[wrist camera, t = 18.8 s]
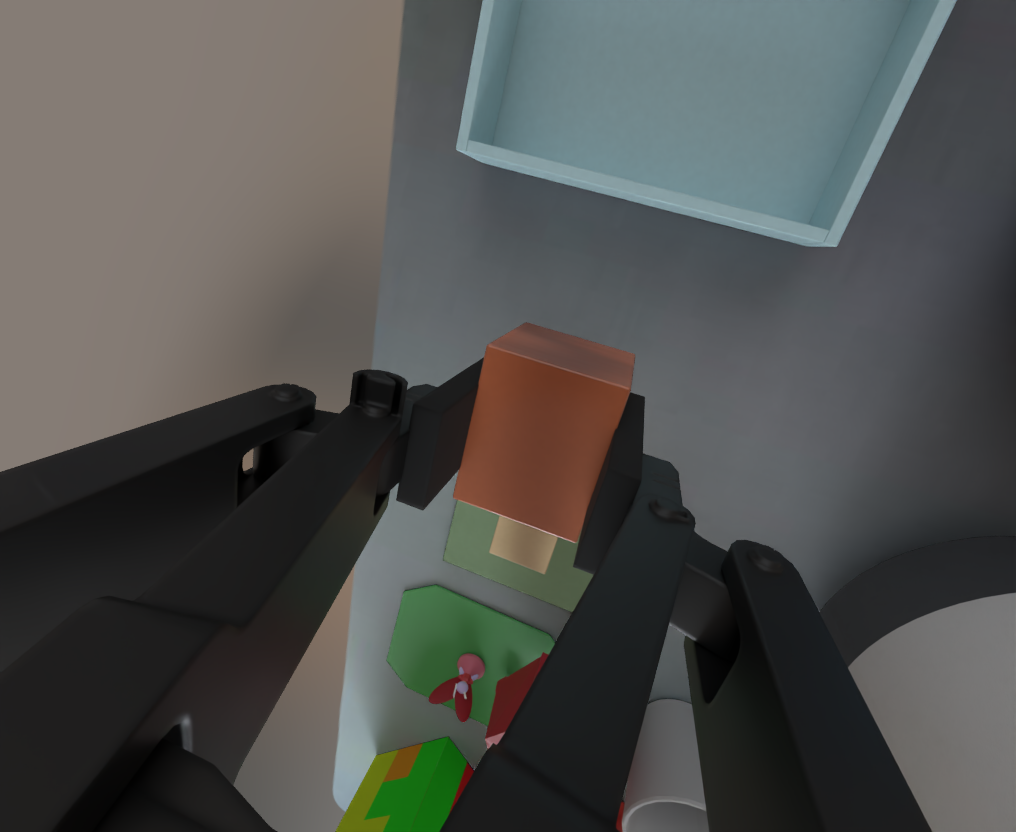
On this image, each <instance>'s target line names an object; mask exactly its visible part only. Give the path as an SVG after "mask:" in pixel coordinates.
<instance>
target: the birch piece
mask: <svg viewBox="0 0 1016 832" xmlns="http://www.w3.org/2000/svg"><path fill="white" fill-rule="evenodd" d="M557 540H558V537H557V536H554V535H552V534H549V533H546V532H544V531H541V530H538V529H535V528H533V527H530V526H527V525H525V524H522V523H519V522H516V521H514V520H511V519H508V518H506V517H503V516H500V515H499V519H498V522H497V526H496V529H495V533H494V536H493V540H492V543H491V546H490V550H489V553H491V554H494V555H496V556H499V557H502V558H504V559H507V560H509V561H512V562H514V563H517V564H519V565H522V566H524V567H527V568H530V569H532V570H535V571H537V572H540V573H542V574H545V573H546V571H547V568H548V565H549V563H550V560H551V557H552V554H553V551H554V548H555V546H556V543H557Z"/></svg>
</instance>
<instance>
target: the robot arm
mask: <svg viewBox="0 0 1016 832" xmlns="http://www.w3.org/2000/svg"><path fill="white" fill-rule="evenodd" d="M483 360H484V358H482V359H481V360H479V361H478V362H476V363H475V364H473V365H471V366H470V367H468V368H467V369H465V370H464V371H462V372H461V373H459V374H458V375H456V376H455V377H453V378H451V379H450V380H448V381H447V382H445V383H444V384H442V385H441V386H439V387H435V386H431V385H428V384H424V385H418V386H413V387H411V388H410V389H408V390H407V385H408V382H407V381H406V380H405V379H404V378H402V377H401V376H399V375H396V374H393V373H390V372H386V371H381V370H360V371H357V372H355V373H353V380H352V389H351V397H350V405H349V406H347V407H346V408H345V409H344V410H343V411H342V412H341V413H340V414H338V413H332V412H326V411H321V410H316V409H315V404H316V395H315V394H314V393H313V392H312V391H310V390H307V389H306V388H302V387H298V385H294V384H292V385H290V384H281V385H270V386H265V387H262V388H259V389H256V390H252V391H249V392H247V393H243V394H240V395H237V396H234V397H231V398H228V399H225V400H222V401H218V402H215V403H212V404H209V405H206V406H203V407H200V408H197V409H194V410H191V411H188V412H185V413H181V414H178V415H175V416H172V417H169V418H166V419H163V420H160V421H157V422H154V423H151V424H147V425H144V426H141V427H138V428H135V429H132V430H129V431H126V432H123V433H120V434H117V435H113V436H110V437H107V438H104V439H101V440H98V441H95V442H92V443H89V444H86V445H82V446H79V447H77V448H73V449H70V450H67V451H64V452H61V453H58V454H55V455H52V456H49V457H46V458H42V459H39V460H36V461H33V462H30V463H27V464H24V465H21V466H18V467H15V468H11V469H8V470H5V471H2V472H0V832H277V831H275V830H274V829H272V828H271V827H270V826H269V825H268V824H267V823H266V822H265V821H264V820H263V819H262V817H261V816H260V815H259V814H258V813H257V812H256V811H255V810H254V808H253V807H252V806H251V805H250V804H249V803H248V802H247V801H246V800H245V798H244V797H243V796H242V795H241V794H240V793H239V792H238V791H237V789H236V788H235V787H234V786H233V784H234V782H235V779H236V777H237V774H238V772H239V770H240V768H241V766H242V764H243V762H244V760H245V758H246V756H247V754H248V753H249V751H250V749H251V747H252V745H253V744H254V742H255V740H256V738H257V737H258V735H259V733H260V731H261V730H262V728H263V726H264V724H265V723H266V721H267V719H268V717H269V715H270V714H271V712H272V710H273V708H274V707H275V705H276V703H277V701H278V699H279V698H280V696H281V694H282V692H283V691H284V689H285V687H286V685H287V683H288V682H289V680H290V678H291V676H292V675H293V673H294V671H295V669H296V668H297V666H298V664H299V662H300V660H301V659H302V657H303V655H304V653H305V652H306V650H307V648H308V646H309V645H310V643H311V641H312V639H313V637H314V635H315V634H316V632H317V630H318V629H319V627H320V625H321V623H322V621H323V620H324V618H325V616H326V614H327V612H328V611H329V609H330V607H331V606H332V604H333V602H334V600H335V598H336V596H337V595H338V593H339V591H340V589H341V588H342V586H343V584H344V582H345V581H346V579H347V577H348V575H349V574H350V572H351V570H352V568H353V567H354V565H355V563H356V561H357V559H358V558H359V556H360V554H361V552H362V551H363V549H364V547H365V545H366V543H367V542H368V540H369V538H370V536H371V535H372V533H373V531H374V529H375V528H376V526H377V524H378V522H379V520H380V519H381V517H382V515H383V513H384V512H385V510H386V508H387V506H388V500H389V494H390V490H391V489H392V488H393V487H394V486H395V485H396V484H397V483H399V487H398V493H397V499H396V500H397V501H399V502H402V503H405V504H407V505H410V506H412V507H415V508H418V509H420V510H424V509H425V508H426V507H427V505H428V504H429V503H430V502H431V501H432V500H433V499H434V497H435V496H436V495H437V494H438V493H439V492H440V490H441V489H442V488H443V487H444V486H445V485H446V484H447V482H448V481H449V480H450V479H451V478H452V477H453V476H454V474H455V473H456V472H457V471H458V470H459V469H460V466H461V462H462V457H463V453H464V448H465V444H466V439H467V435H468V431H469V426H470V422H471V417H472V413H473V408H474V404H475V399H476V395H477V391H478V386H479V385H478V382H479V378H480V374H481V369H482V365H483ZM644 406H645V397H644V396H640V395H637V394H634V393H631V392H630V394H629V397H628V400H627V402H626V405H625V408H624V411H623V414H622V417H621V419H620V422H619V425H618V428H617V429H615V432H614V434H613V437H612V440H611V443H610V446H609V449H608V451H607V454H606V457H605V460H604V463H603V466H602V469H601V471H600V474H599V477H598V480H597V483H596V486H595V488H594V491H593V494H592V497H591V500H590V503H589V506H588V508H587V511H586V515H585V519H584V523H583V527H582V531H581V535H580V539H579V543H578V547H577V551H576V555H575V560H574V564H573V567H574V568H577V569H580V570H582V571H585V572H588V573H590V574H593V577H592V579H591V580H590V582H589V584H588V586H587V588H586V589H585V591H584V593H583V595H582V596H581V598H580V600H579V602H578V604H577V605H576V607H575V609H574V611H573V612H572V614H571V616H570V618H569V619H568V621H567V623H566V625H565V627H564V628H563V630H562V632H561V634H560V635H559V637H558V639H557V641H556V643H555V644H554V646H553V648H552V650H551V651H550V653H549V655H548V657H547V659H546V660H545V662H544V664H543V666H542V667H541V669H540V671H539V673H538V675H537V676H536V678H535V680H534V682H533V683H532V685H531V687H530V689H529V690H528V692H527V694H526V696H525V698H524V699H523V701H522V703H521V705H520V706H519V708H518V710H517V712H516V714H515V715H514V717H513V719H512V721H511V722H510V724H509V726H508V728H507V730H506V731H505V733H504V735H503V736H502V738H501V740H500V741H499V742H498V744H497V745H496V744H494V743H493V744H492V745H491V746H490V747H489V749H488V750H487V751H486V753H485V754H484V756H483V758H482V759H481V761H480V762H479V764H478V766H477V767H476V769H475V771H474V772H473V774H472V776H471V778H470V779H469V781H468V783H467V785H466V786H465V788H464V790H463V791H462V793H461V795H460V797H459V798H458V800H457V802H456V803H455V805H454V807H453V809H452V810H451V812H450V814H449V816H448V817H447V819H446V821H445V822H444V824H443V826H442V828H441V829H440V831H439V832H620V831H619V830H617V829H616V823H617V818H618V814H619V810H620V806H621V802H622V798H623V794H624V791H625V787H626V783H627V779H628V776H629V772H630V768H631V764H632V761H633V757H634V753H635V749H636V746H637V742H638V738H639V734H640V731H641V727H642V723H643V719H644V716H645V712H646V708H647V704H648V701H649V697H650V693H651V689H652V685H653V682H654V678H655V674H656V670H657V667H658V663H659V659H660V655H661V652H662V648H663V644H664V640H665V637H666V633H667V629H668V625H670V626H672V627H673V628H675V629H676V630H678V631H680V632H681V633H683V634H684V635H686V636H685V640H684V649H685V657H686V664H687V672H688V679H689V686H690V694H691V701H692V708H693V716H694V723H695V731H696V738H697V745H698V753H699V760H700V768H701V775H702V782H703V790H704V797H705V804H706V812H707V819H708V827H709V832H932V830H931V828H930V826H929V824H928V822H927V821H926V819H925V817H924V815H923V813H922V811H921V809H920V807H919V805H918V803H917V801H916V799H915V797H914V795H913V793H912V791H911V789H910V788H909V786H908V784H907V782H906V780H905V778H904V776H903V774H902V772H901V770H900V768H899V766H898V764H897V762H896V760H895V758H894V756H893V755H892V753H891V751H890V749H889V747H888V745H887V743H886V741H885V739H884V737H883V735H882V733H881V731H880V729H879V727H878V725H877V724H876V722H875V720H874V718H873V716H872V714H871V712H870V710H869V708H868V706H867V704H866V702H865V700H864V698H863V696H862V694H861V692H860V691H859V689H858V687H857V685H856V683H855V681H854V679H853V677H852V675H851V673H850V671H849V669H848V667H847V665H846V663H845V661H844V659H843V658H842V656H841V654H840V652H839V650H838V648H837V646H836V644H835V642H834V640H833V638H832V636H831V634H830V632H829V630H828V628H827V626H826V625H825V623H824V621H823V619H822V617H821V615H820V613H819V611H818V609H817V607H816V605H815V603H814V601H813V599H812V597H811V595H810V593H809V592H808V590H807V588H806V586H805V584H804V582H803V580H802V578H801V576H800V574H799V572H798V571H797V570H796V568H795V567H794V566H793V564H792V563H791V562H789V561H788V560H787V559H786V558H785V557H783V555H782V554H781V553H779V552H778V551H776V550H775V551H774V549H773V548H771V547H769V546H766V545H762V544H759V543H757V542H752V541H748V540H736V541H735V542H734V543H732V544H731V546H730V548H729V550H728V552H727V551H725V550H723V549H721V548H719V547H717V546H716V545H714V544H712V543H710V542H708V541H707V540H705V539H703V538H702V537H701V536H699V535H698V534H697V533H695V532H694V528H695V524H696V523H695V518H694V516H693V515H692V514H691V512H690V511H689V510H688V509H686V508H685V507H684V506H683V505H682V497H681V490H680V483H679V473H678V471H677V470H676V469H675V468H674V466H673V465H672V464H671V463H670V462H667V461H664V460H661V459H658V458H655V457H652V456H649V455H646V454H643V432H644ZM253 448H254V452H253V467H252V468H250V469H248V470H246V471H243V468H242V462H243V461H242V460H243V457H244V455H245V454H246V453H247V452H249V451H250V450H251V449H253Z"/></svg>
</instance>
